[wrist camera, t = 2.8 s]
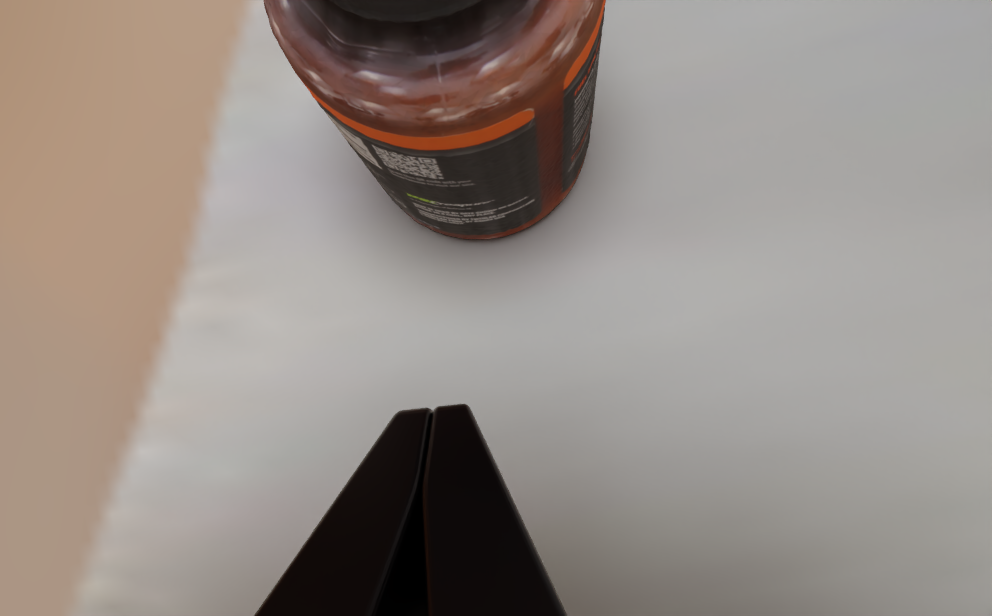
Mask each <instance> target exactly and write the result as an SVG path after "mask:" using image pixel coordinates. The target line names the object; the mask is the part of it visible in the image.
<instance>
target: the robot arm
mask: <svg viewBox="0 0 992 616" xmlns="http://www.w3.org/2000/svg"><path fill="white" fill-rule="evenodd" d="M254 616H567V614H566V612H565V610H564V608H563V606H562V603H561V601H560V599H559V597H558V595H557V593H556V591H555V588H554V586H553V584H552V582H551V580H550V578H549V576H548V574H547V571H546V569H545V567H544V565H543V563H542V561H541V559H540V556H539V554H538V552H537V550H536V548H535V546H534V544H533V542H532V539H531V537H530V535H529V533H528V531H527V529H526V527H525V524H524V522H523V520H522V518H521V516H520V514H519V512H518V510H517V507H516V505H515V503H514V501H513V499H512V497H511V495H510V492H509V490H508V488H507V486H506V484H505V482H504V480H503V477H502V475H501V473H500V471H499V469H498V467H497V465H496V463H495V460H494V458H493V456H492V454H491V452H490V450H489V448H488V445H487V443H486V441H485V439H484V437H483V435H482V433H481V431H480V428H479V426H478V424H477V422H476V420H475V418H474V416H473V413H472V411H471V409H470V407H469V406H468V405H466V404H457V405H448V406H439V407H436V408H435V409H434V411H432V410H431V409H429V408H420V409H411V410H402V411H399V412H398V413H396V414H395V415H394V416H393V418H392V419H391V421H390V422H389V424H388V425H387V427H386V428H385V429H384V431H383V432H382V434H381V435H380V437H379V438H378V439H377V441H376V442H375V444H374V445H373V447H372V448H371V449H370V451H369V452H368V454H367V455H366V457H365V458H364V459H363V461H362V462H361V464H360V465H359V467H358V468H357V469H356V471H355V472H354V474H353V475H352V477H351V478H350V479H349V481H348V482H347V484H346V485H345V487H344V488H343V489H342V491H341V492H340V494H339V495H338V497H337V498H336V500H335V501H334V502H333V504H332V505H331V507H330V508H329V510H328V511H327V512H326V514H325V515H324V517H323V518H322V520H321V521H320V522H319V524H318V525H317V527H316V528H315V530H314V531H313V532H312V534H311V535H310V537H309V538H308V540H307V541H306V542H305V544H304V545H303V547H302V548H301V550H300V551H299V552H298V554H297V555H296V557H295V558H294V560H293V561H292V563H291V564H290V565H289V567H288V568H287V570H286V571H285V573H284V574H283V575H282V577H281V578H280V580H279V581H278V583H277V584H276V585H275V587H274V588H273V590H272V591H271V593H270V594H269V595H268V597H267V598H266V600H265V601H264V603H263V604H262V605H261V607H260V608H259V610H258V611H257V613H256V614H255V615H254Z"/></svg>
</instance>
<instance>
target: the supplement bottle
mask: <svg viewBox="0 0 992 616" xmlns="http://www.w3.org/2000/svg"><path fill="white" fill-rule="evenodd" d="M605 2H606V0H264V5H265V9H266V13H267V15H268V18H269V22H270V26H271V29H272V31H273V34H274V36H275V37H276V39H277V41H278V43H279V45H280V47H281V49H282V50H283V52H284V54H285V56H286V57H287V59H288V61H289V63H290V64H291V66H292V68H293V69H294V71H295V73H296V74H297V75H298V77H299V78H300V79H301V81H302V82H303V83H304V84H305V86H306V87H307V88H308V89H309V91H310V92H311V94H312V96H313V97H314V98H315V100H316V101H317V102H318V104H319V105H320V107H321V108H322V109H323V110H324V111H325V112H326V114H327V115H328V117H329V118H330V119H331V120H332V122H333V123H334V124H335V125H336V127H337V128H338V129H339V131H340V132H341V133H342V135H343V136H344V138H345V139H346V140H347V141H348V143H349V144H350V146H351V147H352V148H353V149H354V151H355V152H356V153H357V154H358V156H359V157H360V158H361V159H362V161H363V162H364V164H365V165H366V166H367V168H368V169H369V170H370V171H371V173H372V174H373V175H374V177H375V178H376V179H377V180H378V182H379V183H380V185H381V186H382V187H383V189H384V190H385V191H386V192H387V194H388V195H389V196H390V197H391V199H392V200H393V201H394V202H395V203H396V204H397V205H398V206H399V207H400V208H401V209H403V210H404V211H405V212H406V213H407V214H408V215H409V216H411V217H412V218H413V219H414V220H415V221H416V222H418V223H420V224H422V225H424V226H426V227H428V228H430V229H432V230H434V231H436V232H439V233H442V234H444V235H448V236H453V237H458V238H463V239H491V238H498V237H503V236H507V235H510V234H513V233H516V232H518V231H521V230H523V229H525V228H527V227H529V226H531V225H533V224H534V223H536V222H537V221H539V220H540V219H542V218H543V217H545V216H546V215H547V214H549V213H550V212H551V211H552V210H553V209H554V208H555V207H556V206H557V205H558V204H559V203H560V202H561V201H562V200H563V199H564V198H565V197H566V196H567V194H568V193H569V191H570V190H571V188H572V187H573V185H574V183H575V181H576V179H577V177H578V175H579V173H580V170H581V168H582V165H583V162H584V159H585V156H586V151H587V148H588V144H589V138H590V129H591V123H592V116H593V104H594V95H595V86H596V78H597V69H598V60H599V51H600V43H601V36H602V26H603V20H604V11H605V8H604V6H605Z"/></svg>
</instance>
